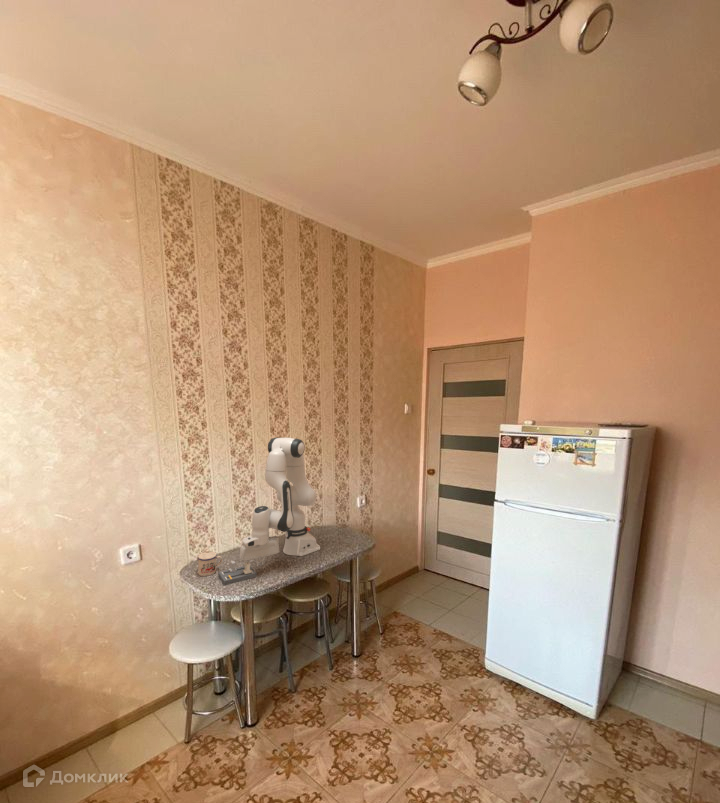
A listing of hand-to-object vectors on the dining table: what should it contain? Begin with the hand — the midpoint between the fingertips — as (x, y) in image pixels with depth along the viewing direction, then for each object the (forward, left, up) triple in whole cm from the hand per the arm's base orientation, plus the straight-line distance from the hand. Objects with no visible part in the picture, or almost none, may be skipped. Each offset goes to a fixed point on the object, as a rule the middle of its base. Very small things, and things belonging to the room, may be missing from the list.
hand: (259, 565), depth 189 cm
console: (+10, -3, -5) cm, 12 cm away
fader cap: (+6, 0, -2) cm, 7 cm away
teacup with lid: (+21, -16, -5) cm, 26 cm away
